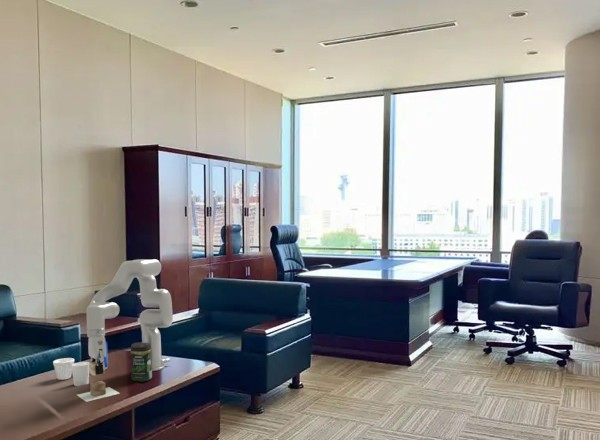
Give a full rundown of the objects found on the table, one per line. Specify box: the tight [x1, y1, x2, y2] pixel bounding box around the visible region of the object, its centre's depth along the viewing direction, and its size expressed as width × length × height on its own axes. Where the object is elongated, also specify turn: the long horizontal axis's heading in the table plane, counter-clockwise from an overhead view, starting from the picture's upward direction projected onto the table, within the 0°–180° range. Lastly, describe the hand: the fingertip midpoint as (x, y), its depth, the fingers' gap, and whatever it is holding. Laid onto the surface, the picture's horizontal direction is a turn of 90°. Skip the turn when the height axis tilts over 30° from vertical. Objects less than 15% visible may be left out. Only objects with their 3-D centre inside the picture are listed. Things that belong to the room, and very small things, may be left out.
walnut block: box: [89, 380, 107, 397], centre depth 235 cm, size 5×5×5 cm
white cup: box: [72, 361, 90, 387], centre depth 256 cm, size 8×8×10 cm
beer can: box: [98, 340, 109, 371], centre depth 281 cm, size 8×8×16 cm
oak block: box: [88, 361, 106, 376], centre depth 235 cm, size 5×5×5 cm
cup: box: [52, 357, 75, 381], centre depth 267 cm, size 10×10×9 cm
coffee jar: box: [130, 341, 153, 383], centre depth 259 cm, size 10×8×19 cm
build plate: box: [76, 386, 121, 403], centre depth 235 cm, size 15×13×1 cm
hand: (97, 372), depth 235 cm, fingers closed on oak block, 5 cm apart
